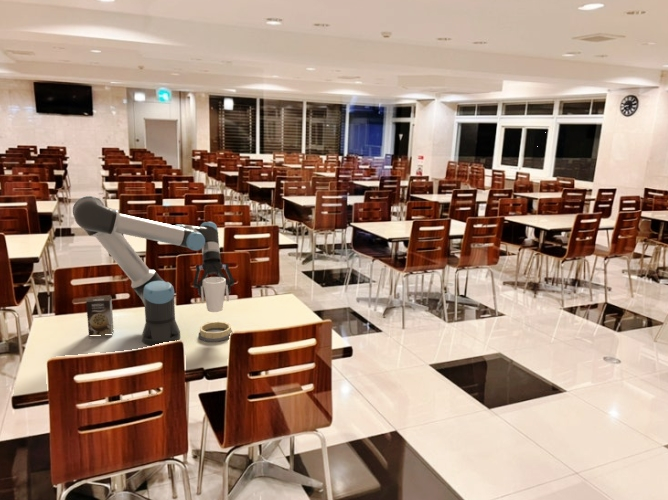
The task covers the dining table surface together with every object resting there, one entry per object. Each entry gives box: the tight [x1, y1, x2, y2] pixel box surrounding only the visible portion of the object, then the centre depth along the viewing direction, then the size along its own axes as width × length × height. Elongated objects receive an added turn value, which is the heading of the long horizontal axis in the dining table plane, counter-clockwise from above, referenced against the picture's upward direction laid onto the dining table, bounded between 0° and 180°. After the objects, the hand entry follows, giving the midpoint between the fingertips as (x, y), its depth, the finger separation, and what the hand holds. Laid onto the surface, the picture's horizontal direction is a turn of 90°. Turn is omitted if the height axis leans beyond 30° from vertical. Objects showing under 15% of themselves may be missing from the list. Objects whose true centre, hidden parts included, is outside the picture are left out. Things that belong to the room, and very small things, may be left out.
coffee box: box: [85, 295, 115, 339], centre depth 216 cm, size 9×6×16 cm
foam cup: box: [202, 276, 226, 313], centre depth 217 cm, size 10×9×13 cm
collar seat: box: [198, 321, 233, 343], centre depth 220 cm, size 14×14×4 cm
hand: (215, 300), depth 214 cm, fingers closed on foam cup, 9 cm apart
